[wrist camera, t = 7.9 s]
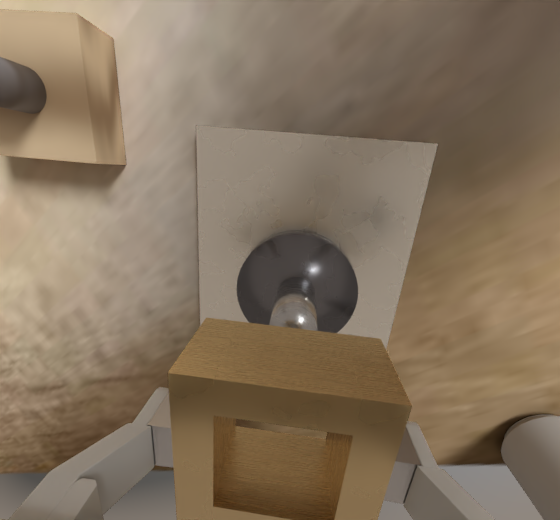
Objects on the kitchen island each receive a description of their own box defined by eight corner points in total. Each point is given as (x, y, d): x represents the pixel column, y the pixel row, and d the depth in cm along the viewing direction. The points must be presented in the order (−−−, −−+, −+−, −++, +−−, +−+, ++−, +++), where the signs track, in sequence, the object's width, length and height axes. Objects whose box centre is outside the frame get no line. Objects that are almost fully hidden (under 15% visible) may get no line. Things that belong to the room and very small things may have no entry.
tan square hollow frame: (206, 317, 10) (167, 372, 7) (380, 338, 10) (412, 405, 7) (207, 442, 12) (176, 524, 9) (351, 465, 12) (365, 557, 9)
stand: (3, 32, 18) (-145, -36, 12) (113, 38, 18) (15, -30, 12) (29, 156, 21) (-83, 150, 15) (126, 165, 20) (50, 161, 14)
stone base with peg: (201, 127, 19) (138, 100, 12) (431, 145, 18) (513, 127, 11) (205, 374, 26) (166, 449, 19) (369, 396, 25) (394, 485, 18)
